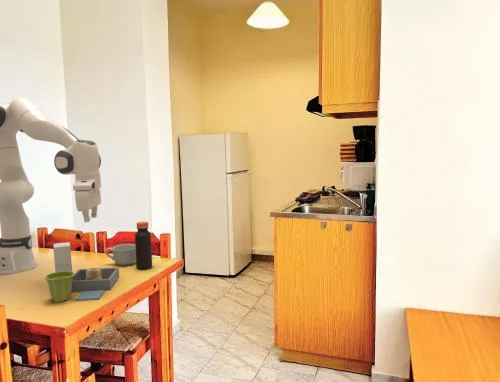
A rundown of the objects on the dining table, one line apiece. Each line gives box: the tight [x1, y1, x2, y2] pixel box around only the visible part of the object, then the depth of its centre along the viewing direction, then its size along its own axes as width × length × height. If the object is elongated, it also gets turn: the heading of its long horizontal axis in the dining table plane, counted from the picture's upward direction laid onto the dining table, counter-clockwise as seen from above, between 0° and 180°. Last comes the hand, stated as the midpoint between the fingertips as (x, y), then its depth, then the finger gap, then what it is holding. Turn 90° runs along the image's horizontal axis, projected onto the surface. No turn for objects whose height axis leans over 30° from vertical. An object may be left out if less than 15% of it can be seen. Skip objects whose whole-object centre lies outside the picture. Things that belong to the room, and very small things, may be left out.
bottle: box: [134, 221, 153, 271], centre depth 182 cm, size 7×7×20 cm
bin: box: [71, 267, 120, 293], centre depth 162 cm, size 16×16×4 cm
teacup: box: [104, 243, 136, 267], centre depth 190 cm, size 14×11×8 cm
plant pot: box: [44, 271, 76, 303], centre depth 147 cm, size 9×9×9 cm
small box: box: [53, 241, 73, 273], centre depth 174 cm, size 8×6×13 cm
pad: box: [74, 290, 105, 302], centre depth 149 cm, size 8×8×1 cm
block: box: [85, 267, 103, 280], centre depth 162 cm, size 4×4×6 cm
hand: (90, 219), depth 159 cm, fingers open, 8 cm apart
